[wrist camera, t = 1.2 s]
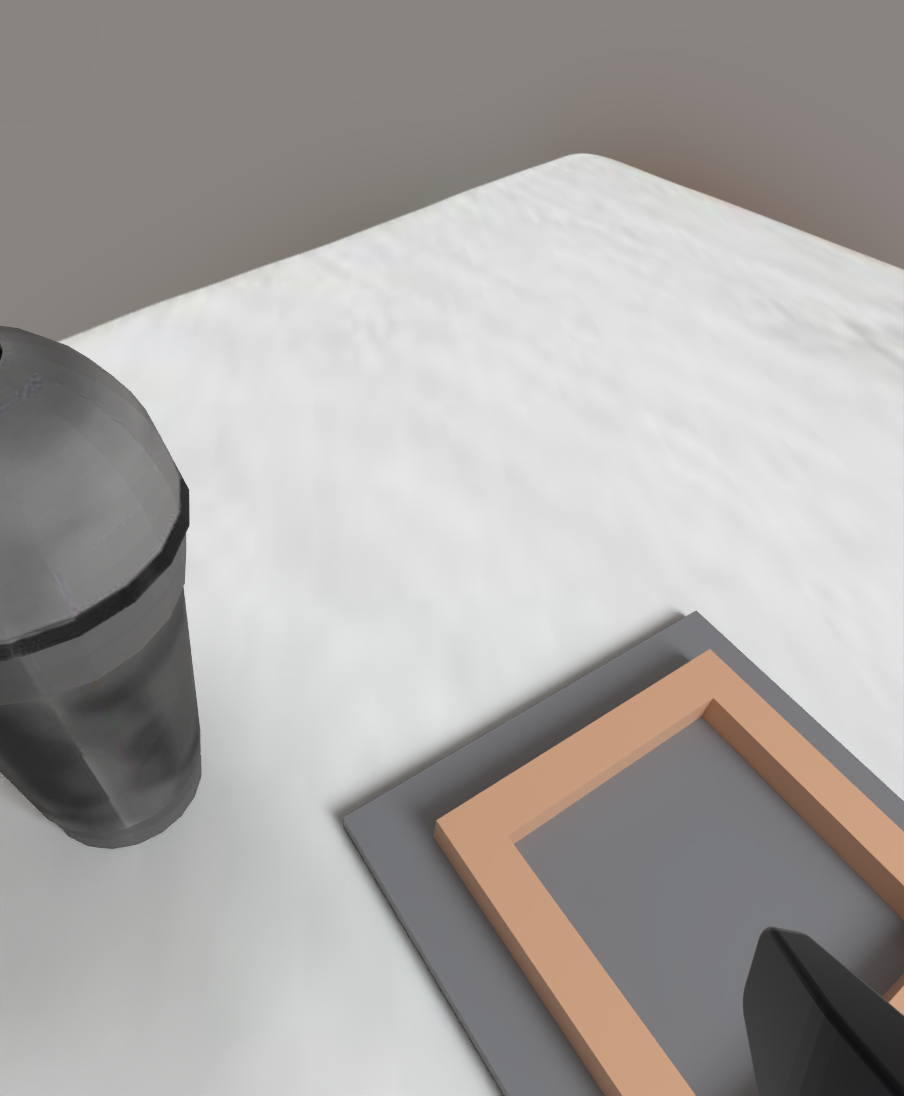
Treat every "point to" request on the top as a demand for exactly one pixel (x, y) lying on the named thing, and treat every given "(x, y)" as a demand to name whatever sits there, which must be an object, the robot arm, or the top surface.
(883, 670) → the top surface
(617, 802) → the cup dock
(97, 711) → the beverage cup
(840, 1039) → the robot arm
